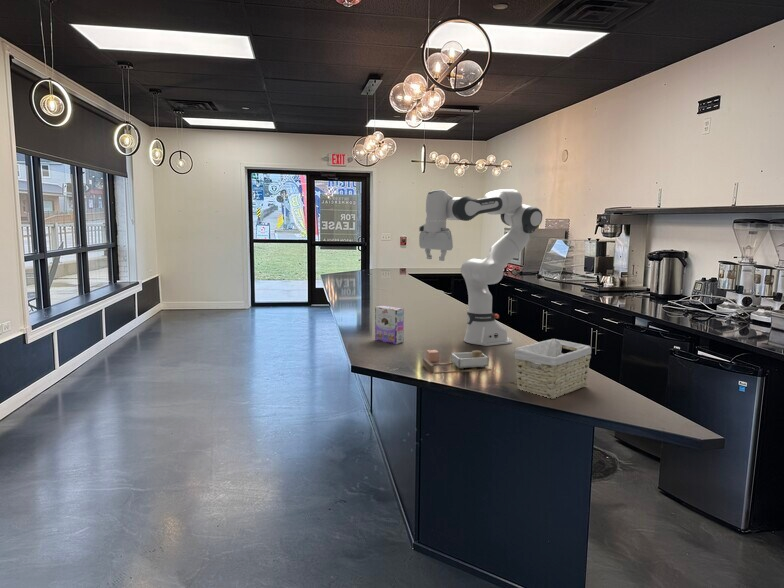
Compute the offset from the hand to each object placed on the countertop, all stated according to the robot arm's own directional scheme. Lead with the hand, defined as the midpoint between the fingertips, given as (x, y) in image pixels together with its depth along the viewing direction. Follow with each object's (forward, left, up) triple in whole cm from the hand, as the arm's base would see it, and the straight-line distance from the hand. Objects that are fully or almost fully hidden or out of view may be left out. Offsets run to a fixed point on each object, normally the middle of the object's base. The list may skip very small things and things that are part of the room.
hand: (435, 259), depth 224 cm
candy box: (+16, -19, -40) cm, 47 cm away
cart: (-4, +33, -39) cm, 51 cm away
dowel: (-7, +33, -37) cm, 50 cm away
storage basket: (-24, +59, -40) cm, 76 cm away
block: (+7, +21, -40) cm, 46 cm away
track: (+1, +33, -40) cm, 52 cm away
